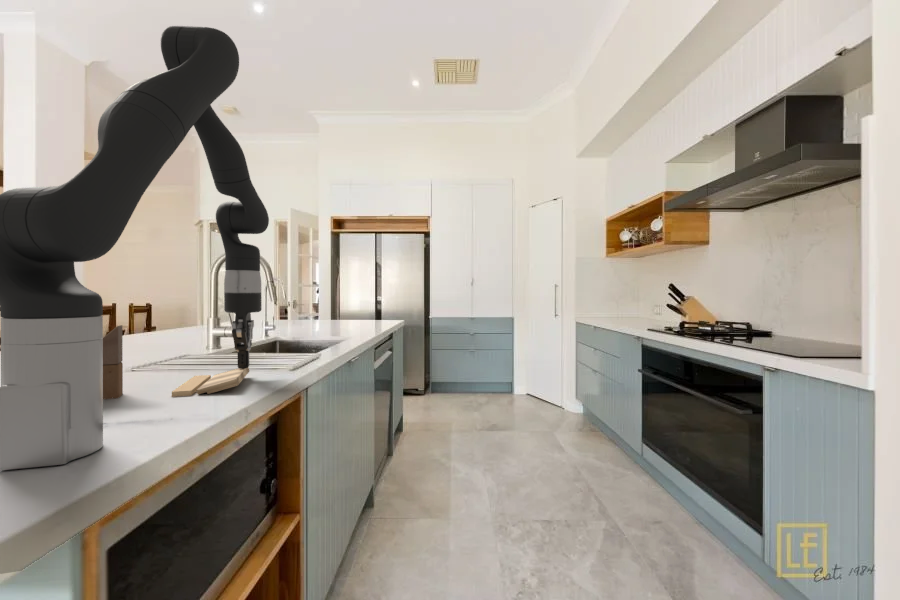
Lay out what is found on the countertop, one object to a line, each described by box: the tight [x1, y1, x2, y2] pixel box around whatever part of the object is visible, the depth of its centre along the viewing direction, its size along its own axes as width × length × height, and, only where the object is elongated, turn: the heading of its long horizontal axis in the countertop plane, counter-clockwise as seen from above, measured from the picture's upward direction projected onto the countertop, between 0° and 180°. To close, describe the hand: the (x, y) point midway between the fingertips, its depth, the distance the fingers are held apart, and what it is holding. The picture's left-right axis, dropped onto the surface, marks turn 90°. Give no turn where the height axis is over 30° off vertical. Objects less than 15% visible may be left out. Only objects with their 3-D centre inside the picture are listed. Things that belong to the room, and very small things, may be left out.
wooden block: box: [103, 324, 124, 400], centre depth 76 cm, size 4×11×18 cm, turn 118°
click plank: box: [196, 366, 250, 395], centre depth 88 cm, size 16×7×1 cm, turn 18°
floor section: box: [171, 374, 212, 398], centre depth 88 cm, size 17×12×2 cm
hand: (243, 367), depth 94 cm, fingers closed
